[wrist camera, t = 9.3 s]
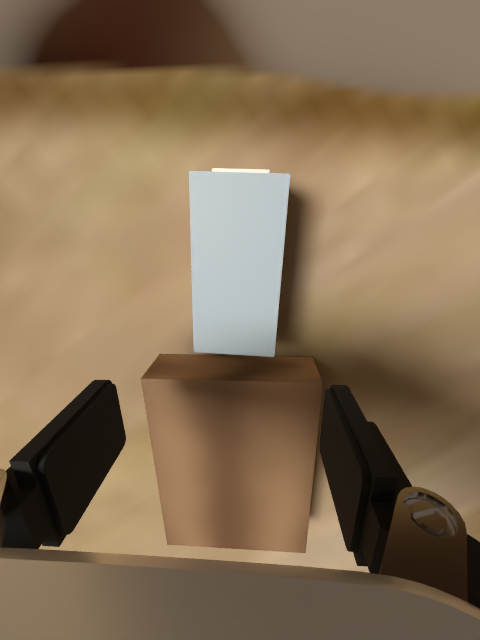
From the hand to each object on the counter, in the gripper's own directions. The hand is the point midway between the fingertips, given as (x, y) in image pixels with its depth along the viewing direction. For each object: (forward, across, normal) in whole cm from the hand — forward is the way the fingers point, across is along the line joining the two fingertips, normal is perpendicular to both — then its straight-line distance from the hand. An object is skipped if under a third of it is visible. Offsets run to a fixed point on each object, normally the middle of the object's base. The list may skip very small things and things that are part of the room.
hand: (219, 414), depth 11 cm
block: (+5, 0, -1) cm, 5 cm away
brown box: (+7, 0, +8) cm, 11 cm away
